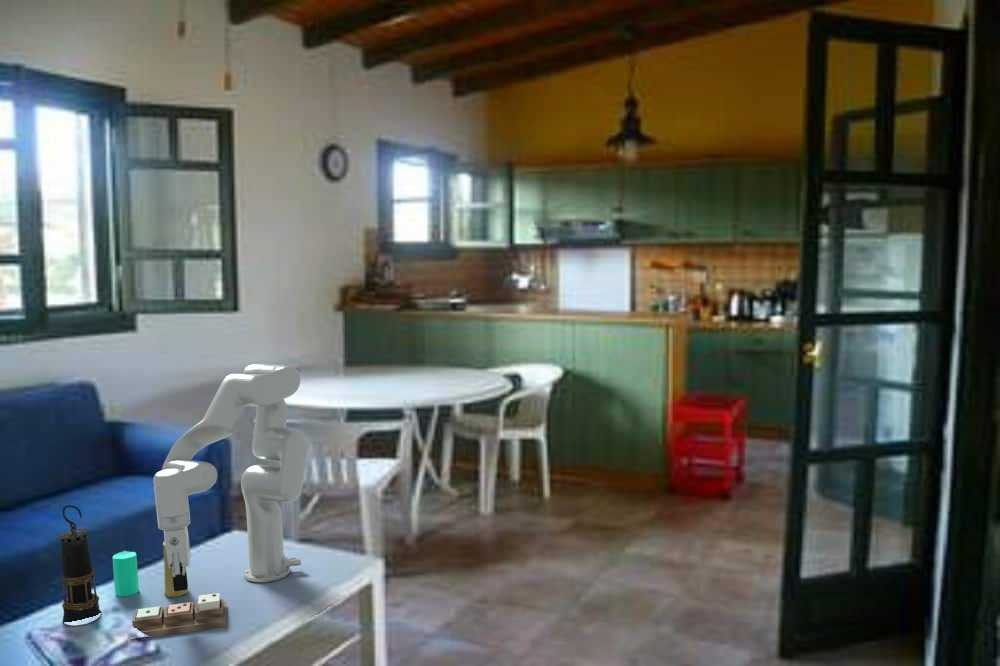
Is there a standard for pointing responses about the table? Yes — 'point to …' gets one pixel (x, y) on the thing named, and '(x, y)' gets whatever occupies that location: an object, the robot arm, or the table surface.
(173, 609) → the tile three dots
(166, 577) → the vase
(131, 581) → the candle
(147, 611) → the tile one dot
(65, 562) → the lantern
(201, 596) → the tile two dots
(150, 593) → the table surface
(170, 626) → the tile board
